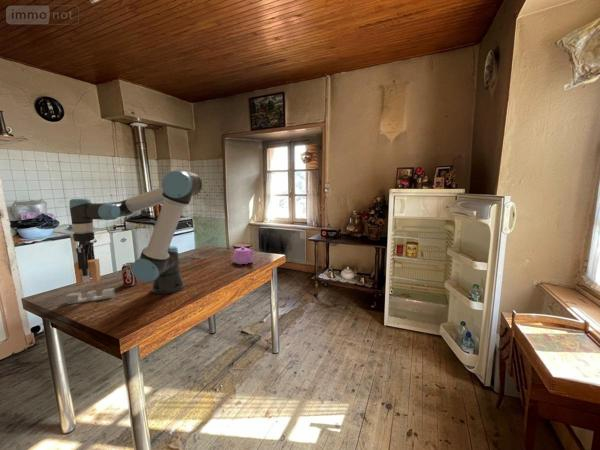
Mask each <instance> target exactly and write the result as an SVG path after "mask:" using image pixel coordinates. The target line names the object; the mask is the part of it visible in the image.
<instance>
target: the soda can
mask: <svg viewBox="0 0 600 450" xmlns="http://www.w3.org/2000/svg"><path fill="white" fill-rule="evenodd" d="M133 263H134V262H125V263H122V267H121V276H122V285H123V286H124V287H132V286H135V285H137V284H138V283H139V282H138V281H139V280H138V279H137V278H136V277H135V276H134V274H133V273H132V265H133Z"/></svg>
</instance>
